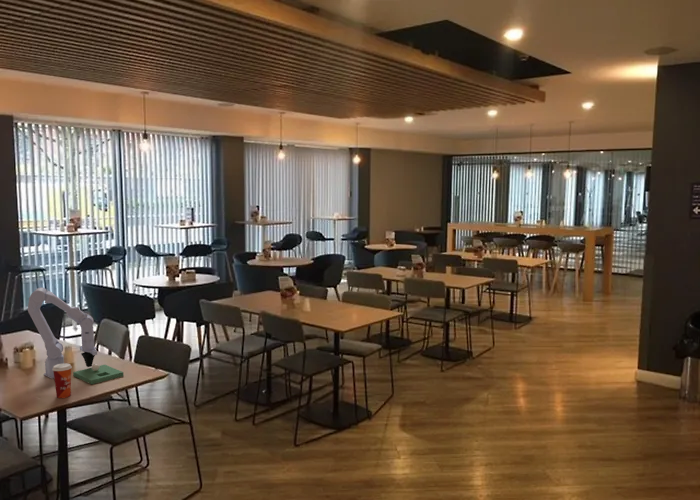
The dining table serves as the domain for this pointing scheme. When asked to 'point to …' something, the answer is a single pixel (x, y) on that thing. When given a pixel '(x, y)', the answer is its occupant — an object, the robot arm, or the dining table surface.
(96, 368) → the ball
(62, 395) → the paper cup
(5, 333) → the dining table surface
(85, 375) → the putting deck
